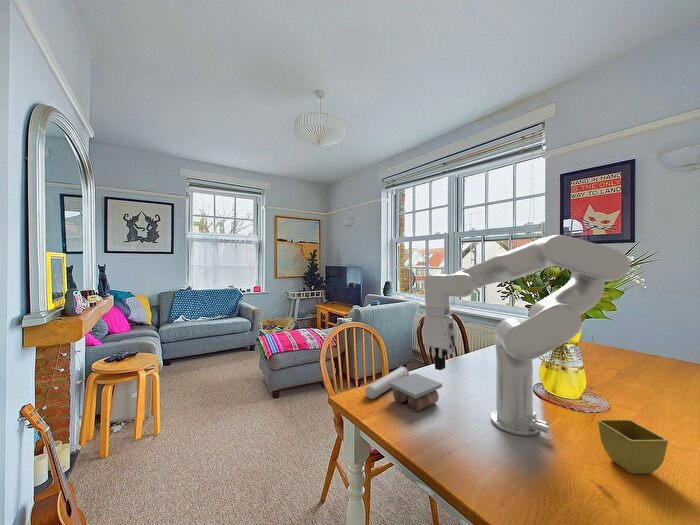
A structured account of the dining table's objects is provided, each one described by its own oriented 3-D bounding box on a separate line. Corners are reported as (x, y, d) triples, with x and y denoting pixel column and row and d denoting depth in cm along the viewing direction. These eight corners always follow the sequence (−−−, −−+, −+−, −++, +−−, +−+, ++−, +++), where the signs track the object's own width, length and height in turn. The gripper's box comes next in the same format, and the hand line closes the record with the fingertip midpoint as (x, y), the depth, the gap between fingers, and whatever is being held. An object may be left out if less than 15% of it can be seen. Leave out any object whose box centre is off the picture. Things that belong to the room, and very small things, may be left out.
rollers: (438, 404, 98) (438, 390, 98) (419, 414, 92) (419, 398, 92) (411, 392, 108) (411, 378, 108) (392, 399, 102) (392, 385, 102)
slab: (442, 387, 100) (442, 383, 100) (415, 398, 91) (415, 394, 91) (414, 376, 109) (414, 373, 109) (388, 385, 101) (388, 382, 101)
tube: (376, 392, 100) (410, 370, 119) (364, 383, 103) (399, 363, 122) (372, 405, 101) (407, 381, 120) (360, 396, 104) (396, 374, 123)
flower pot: (630, 454, 73) (630, 418, 73) (669, 480, 64) (669, 440, 64) (596, 454, 73) (596, 419, 73) (631, 481, 64) (631, 440, 64)
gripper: (465, 313, 89) (468, 372, 89) (426, 308, 101) (429, 360, 101) (450, 316, 85) (453, 378, 84) (412, 311, 97) (414, 365, 97)
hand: (440, 368), depth 93 cm, fingers closed
